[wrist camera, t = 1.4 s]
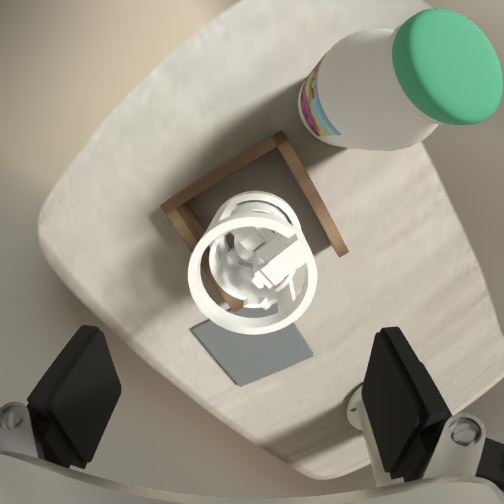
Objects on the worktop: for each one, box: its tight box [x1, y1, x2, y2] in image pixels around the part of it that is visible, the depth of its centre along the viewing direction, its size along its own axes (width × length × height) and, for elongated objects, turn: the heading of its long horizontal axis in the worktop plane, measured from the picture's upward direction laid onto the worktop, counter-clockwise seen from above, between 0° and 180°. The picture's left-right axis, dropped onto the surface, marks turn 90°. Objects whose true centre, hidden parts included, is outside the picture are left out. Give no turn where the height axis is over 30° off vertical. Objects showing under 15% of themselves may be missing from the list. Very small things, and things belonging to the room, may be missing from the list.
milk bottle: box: [298, 8, 503, 151], centre depth 17 cm, size 8×8×20 cm
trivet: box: [192, 303, 313, 387], centre depth 35 cm, size 10×10×1 cm
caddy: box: [160, 130, 349, 312], centre depth 28 cm, size 12×12×4 cm
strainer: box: [188, 191, 317, 335], centre depth 23 cm, size 7×7×15 cm
